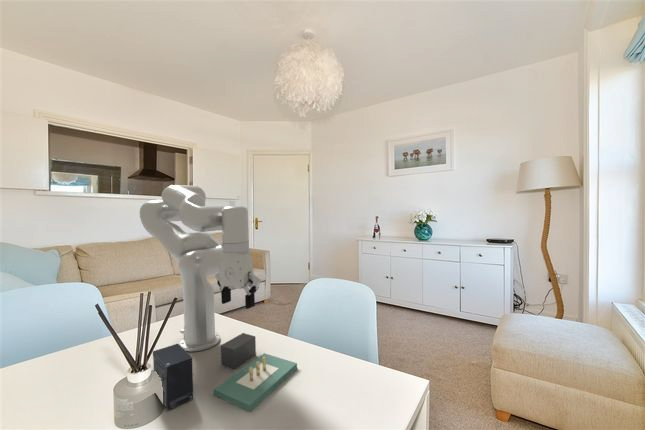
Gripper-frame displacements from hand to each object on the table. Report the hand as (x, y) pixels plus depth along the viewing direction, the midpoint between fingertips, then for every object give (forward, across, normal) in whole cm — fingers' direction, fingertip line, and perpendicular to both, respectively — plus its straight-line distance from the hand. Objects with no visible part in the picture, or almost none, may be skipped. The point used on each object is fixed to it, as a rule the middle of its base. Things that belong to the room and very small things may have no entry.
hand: (238, 304), depth 85 cm
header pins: (+16, +12, -5) cm, 20 cm away
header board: (+17, +12, -5) cm, 21 cm away
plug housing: (+17, 0, 0) cm, 17 cm away
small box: (+17, -3, -19) cm, 26 cm away
